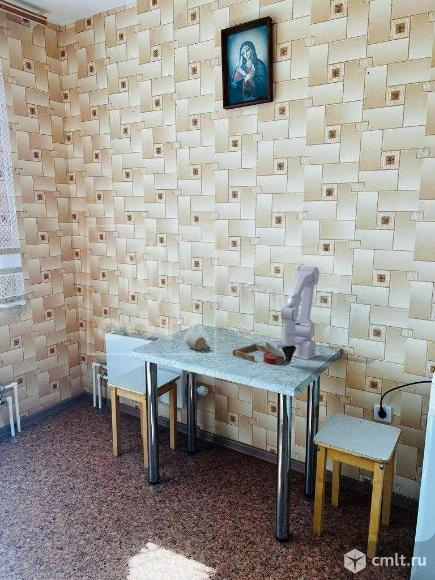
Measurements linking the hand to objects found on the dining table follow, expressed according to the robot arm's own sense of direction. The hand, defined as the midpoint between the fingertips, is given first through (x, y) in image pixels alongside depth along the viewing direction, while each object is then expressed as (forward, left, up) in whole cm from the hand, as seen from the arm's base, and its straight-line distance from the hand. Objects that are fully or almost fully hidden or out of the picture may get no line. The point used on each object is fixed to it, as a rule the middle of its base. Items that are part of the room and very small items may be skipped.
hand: (288, 361), depth 202 cm
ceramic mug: (+49, +13, -2) cm, 50 cm away
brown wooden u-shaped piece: (+21, 0, -2) cm, 21 cm away
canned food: (+9, 0, -2) cm, 9 cm away
